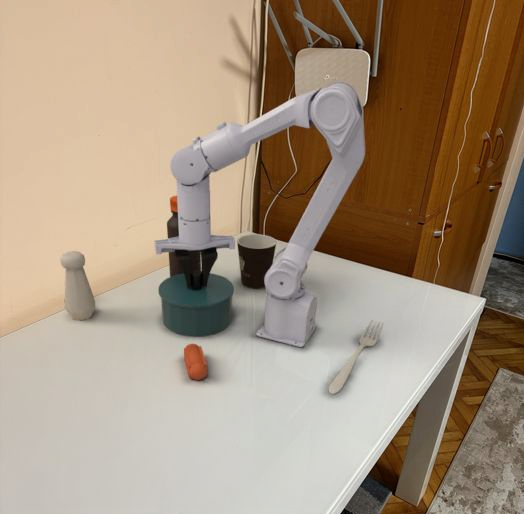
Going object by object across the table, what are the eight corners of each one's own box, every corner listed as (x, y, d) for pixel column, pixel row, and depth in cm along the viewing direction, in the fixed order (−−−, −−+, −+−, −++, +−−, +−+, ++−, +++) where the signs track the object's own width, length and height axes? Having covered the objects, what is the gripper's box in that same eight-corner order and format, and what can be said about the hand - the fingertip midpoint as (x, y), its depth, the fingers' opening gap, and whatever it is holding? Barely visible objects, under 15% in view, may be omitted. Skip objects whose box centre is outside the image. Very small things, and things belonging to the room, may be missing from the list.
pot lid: (247, 288, 101) (248, 268, 99) (206, 318, 90) (206, 296, 88) (188, 271, 106) (187, 252, 104) (142, 297, 96) (140, 277, 93)
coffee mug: (274, 291, 113) (276, 249, 108) (235, 290, 113) (235, 247, 108) (274, 270, 123) (276, 230, 118) (238, 268, 123) (238, 228, 117)
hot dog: (209, 382, 84) (208, 367, 82) (190, 384, 83) (190, 369, 81) (199, 353, 91) (199, 339, 89) (183, 355, 90) (182, 341, 88)
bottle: (185, 278, 117) (181, 191, 106) (207, 287, 114) (206, 198, 103) (164, 288, 112) (157, 198, 102) (186, 297, 109) (182, 205, 98)
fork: (322, 390, 83) (323, 381, 82) (368, 326, 101) (370, 318, 100) (340, 397, 82) (341, 388, 81) (384, 331, 100) (385, 323, 99)
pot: (243, 314, 104) (244, 285, 100) (206, 343, 94) (205, 313, 90) (189, 297, 109) (188, 270, 106) (149, 324, 99) (146, 294, 95)
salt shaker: (88, 324, 98) (77, 261, 91) (60, 320, 99) (48, 258, 92) (102, 310, 103) (93, 249, 96) (76, 306, 104) (65, 246, 97)
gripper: (229, 207, 95) (228, 273, 102) (150, 211, 92) (155, 279, 99) (238, 219, 90) (237, 288, 97) (154, 224, 86) (160, 295, 93)
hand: (196, 285), depth 97 cm, fingers closed on pot lid, 2 cm apart
